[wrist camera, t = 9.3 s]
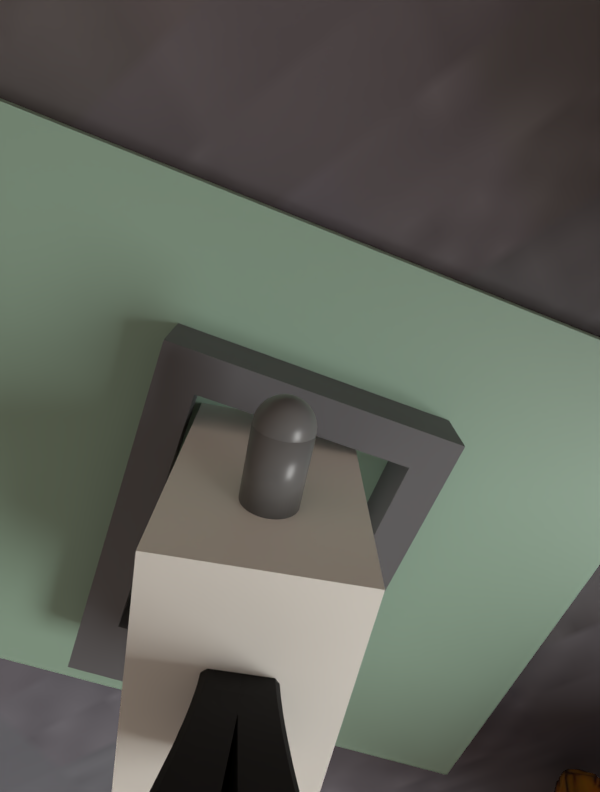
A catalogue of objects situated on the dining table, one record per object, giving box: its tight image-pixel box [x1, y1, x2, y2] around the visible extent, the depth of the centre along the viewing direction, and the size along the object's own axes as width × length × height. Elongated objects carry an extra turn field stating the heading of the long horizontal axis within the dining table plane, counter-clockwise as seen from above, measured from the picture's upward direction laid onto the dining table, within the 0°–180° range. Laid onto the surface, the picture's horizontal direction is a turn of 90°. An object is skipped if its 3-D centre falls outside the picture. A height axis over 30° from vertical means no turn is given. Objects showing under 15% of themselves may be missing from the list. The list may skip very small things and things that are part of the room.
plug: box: [112, 394, 385, 792], centre depth 12 cm, size 4×9×6 cm, turn 169°
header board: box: [0, 98, 600, 775], centre depth 15 cm, size 20×16×2 cm
